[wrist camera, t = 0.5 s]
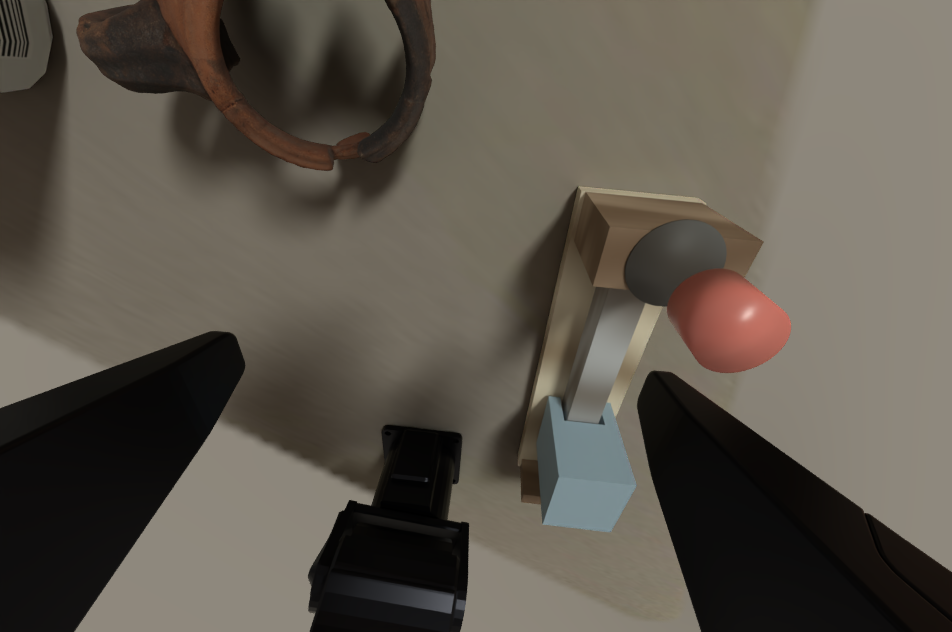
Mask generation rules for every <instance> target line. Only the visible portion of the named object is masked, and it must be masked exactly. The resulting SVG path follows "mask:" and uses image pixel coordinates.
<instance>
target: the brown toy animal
mask: <svg viewBox="0 0 952 632" xmlns="http://www.w3.org/2000/svg"><path fill="white" fill-rule="evenodd" d="M223 2H224V0H140V1H139V2H137V3H136V4H134V5H126V6H121V7H116V8H111V9H107V10H102V11H97V12H93V13H88V14H85V15H83V16H81V17H80V18H79V24H78V27H77V36H78V39H79V42H80V47H81V50H82V51H83V53H84V54H85V55H86V56H87V57H88V58H89V59H90V60H91V61H92V62H94V63H95V64H96V66H97V67H98V68H99V70H100V71H101V73H102V74H103V75H105V76H106V77H107V78H109V79H110V80H112V81H114V82H116V83H117V84H119V85H121V86H122V87H124V88H126V89H128V90H131V91H134V92H138V93H155V94H156V93H167V92H174V91H186V92H191V93H194V94H197V95H199V96H201V97H203V98H205V99H207V100H210V101H213V102H214V104H215V105H216V107H217V108H218V109H219V110H220V111H221V112H222V113H223V114H224V116H225V117H226V118H227V119H228V120H229V121H230V122H231V123H232V124H233V125H234V126H235V127H236V128H237V129H238V130H239V131H240V132H242V133H243V134H244V135H245V136H246V137H247V138H249V139H250V140H251V141H253V142H254V143H255V144H256V145H258V146H259V147H261V148H262V149H264V150H265V151H267V152H268V153H270V154H271V155H274V156H276V157H278V158H281V159H283V160H285V161H286V162H289V163H292V164H295V165H297V166H300V167H303V168H310V169H315V170H324V171H330V170H332V169H333V165H334V160H336V159H341V160H343V159H354V158H358V157H360V158H362V159H364V160H366V161H369V162H373V163H377V162H379V161H381V160H383V159H384V158H386V157H387V156H389V155H390V154H391V153H393V152H394V151H395V150H396V149H397V148H398V147H399V145H401V144H402V143H403V142H404V141H405V140H406V139H407V138H408V137H409V135H410V134H411V133H412V131H413V130H414V128H415V127H416V125H417V123H418V120H419V118H420V116H421V113H422V111H423V108H424V102H425V100H426V97H427V95H428V92H429V90H430V87H431V82H432V79H431V77H430V73H431V71H432V68H433V66H434V63H435V59H436V43H435V35H434V25H433V20H432V10H431V0H385V2H386V4H387V6H388V8H389V9H390V11H391V12H392V14H393V16H394V18H395V20H396V23H397V25H398V28H399V30H400V33H401V36H402V40H403V44H404V50H405V58H406V78H405V84H404V89H403V92H402V94H401V97H400V99H399V102H398V104H397V106H396V108H395V110H394V112H393V114H392V115H391V117H390V118H389V119H388V120H387V122H386V123H385V124H384V125H382V126H381V127H380V128H379V129H378V130H377V131H375V132H374V133H372V134H371V135H370V134H369V133H367V132H362V133H358V134H356V135H353V136H350V137H348V138H346V139H343V140H341V141H340V142H338V143H337V146H330V145H326V144H319V143H313V142H309V141H305V140H302V139H299V138H297V137H294V136H292V135H290V134H288V133H286V132H284V131H282V130H280V129H279V128H277V127H275V126H274V125H272V124H271V123H270V122H268V121H267V120H266V119H265V118H263V117H262V116H261V115H260V114H259V113H258V112H257V111H256V110H255V109H254V108H252V106H251V105H250V104H249V103H248V101H247V100H246V98H245V97H244V95H243V94H242V93H240V92H239V91H238V89H237V87H236V86H235V84H234V82H233V80H232V78H231V76H230V74H229V71H230V70H231V69H232V67H233V66H236V65H238V63H239V61H240V58H239V56H238V54H237V52H236V50H235V48H234V46H233V44H232V43H231V41H230V38H229V36H228V33H227V30H226V27H225V25H224V23H223V21H222V19H221V18H220V14H221V9H222V5H223Z"/></svg>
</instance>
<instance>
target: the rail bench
mask: <svg viewBox="0 0 952 632" xmlns="http://www.w3.org/2000/svg"><path fill="white" fill-rule="evenodd" d="M762 244H763V241H762V240H760V239H758V238H757V237H755V236H754V235H752V234H750V233H749V232H747V231H746V230H744V229H743V228H741V227H739V226H738V225H736V224H735V223H733V222H731V221H730V220H728V219H727V218H725V217H724V216H722V215H720V214H719V213H717V212H716V211H714V210H712V209H711V208H709V207H708V206H706V203H705V202H703V201H702V200H700V199H698V198H694V197H684V196H673V195H663V194H653V193H643V192H632V191H622V190H612V189H601V188H591V187H581V186H578V189H577V194H576V198H575V203H574V207H573V211H572V216H571V220H570V225H569V229H568V234H567V238H566V243H565V247H564V251H563V256H562V260H561V265H560V269H559V274H558V278H557V283H556V287H555V291H554V296H553V300H552V305H551V309H550V314H549V318H548V323H547V327H546V331H545V336H544V340H543V345H542V349H541V354H540V358H539V363H538V367H537V372H536V376H535V380H534V385H533V389H532V394H531V398H530V403H529V407H528V412H527V416H526V420H525V425H524V429H523V434H522V438H521V443H520V447H519V452H518V466H520V472H521V502H524V503H533V504H541V497H540V485H539V472H538V459H537V446H536V442H537V438H538V435H539V431H540V427H541V423H542V419H543V416H544V412H545V408H546V404H547V400H548V397H549V396H552V397H560V398H561V405H562V411H563V417H564V421H573V422H582V423H591V424H598V423H599V421H600V418H601V415H602V413H603V410H604V408H605V405H606V403H611V407H612V410H613V413H614V416H615V417H616V415H617V413H618V410H619V408H620V406H621V403H622V401H623V399H624V396H625V394H626V392H627V389H628V387H629V385H630V382H631V380H632V377H633V375H634V373H635V370H636V368H637V366H638V363H639V361H640V359H641V356H642V354H643V352H644V349H645V347H646V345H647V342H648V340H649V337H650V335H651V333H652V330H653V328H654V326H655V323H656V321H657V319H658V316H659V314H660V312H661V309H662V307H663V306H668V302H669V299H670V297H671V295H672V293H673V292H674V290H675V289H676V288H677V287H678V286H679V285H680V284H681V283H682V282H683V281H685V280H686V279H688V278H689V277H691V276H693V275H695V274H697V273H699V272H702V271H705V270H710V269H729V270H732V271H735V272H737V273H739V274H740V275H742V276H743V277H745V275H746V274H747V272H748V270H749V268H750V266H751V264H752V263H753V261H754V259H755V257H756V255H757V253H758V252H759V250H760V248H761V246H762Z"/></svg>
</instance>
